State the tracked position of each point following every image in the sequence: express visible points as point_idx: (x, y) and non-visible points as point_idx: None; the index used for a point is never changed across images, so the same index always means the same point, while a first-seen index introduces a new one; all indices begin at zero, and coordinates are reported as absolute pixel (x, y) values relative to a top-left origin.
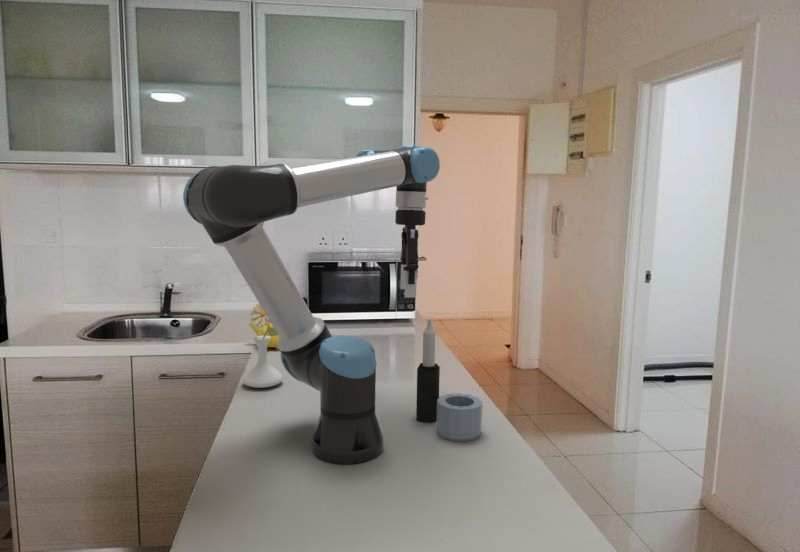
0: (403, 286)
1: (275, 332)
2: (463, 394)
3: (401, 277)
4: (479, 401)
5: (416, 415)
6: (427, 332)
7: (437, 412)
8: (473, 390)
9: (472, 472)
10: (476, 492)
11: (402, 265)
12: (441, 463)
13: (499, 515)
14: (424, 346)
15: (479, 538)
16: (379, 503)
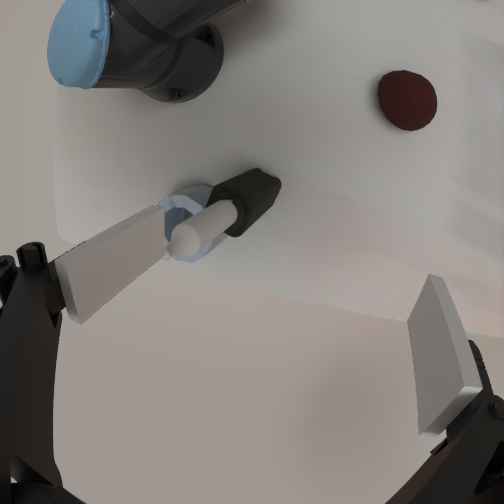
0: (425, 297)
1: None
2: (206, 247)
3: (442, 318)
4: (177, 256)
5: (254, 169)
6: (173, 231)
7: (191, 191)
8: (360, 308)
9: (119, 191)
10: (93, 182)
11: (456, 388)
12: (134, 165)
13: (73, 189)
14: (197, 213)
15: (57, 166)
16: (87, 97)
